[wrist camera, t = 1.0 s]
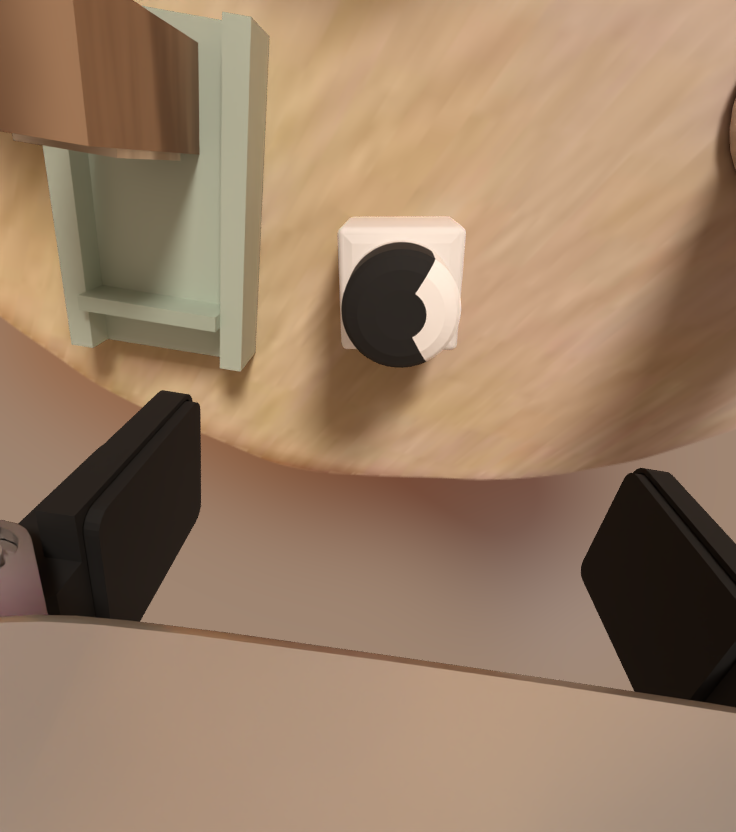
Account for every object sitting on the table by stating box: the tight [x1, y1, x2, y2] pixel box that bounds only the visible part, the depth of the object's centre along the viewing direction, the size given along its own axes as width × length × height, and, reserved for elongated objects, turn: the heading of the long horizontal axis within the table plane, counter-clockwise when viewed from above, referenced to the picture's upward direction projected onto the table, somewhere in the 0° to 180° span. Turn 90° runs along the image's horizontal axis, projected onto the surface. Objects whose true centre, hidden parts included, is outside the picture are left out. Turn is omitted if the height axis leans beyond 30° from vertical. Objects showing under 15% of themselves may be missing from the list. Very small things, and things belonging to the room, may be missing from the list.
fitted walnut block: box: [0, 0, 200, 161], centre depth 23 cm, size 5×6×12 cm
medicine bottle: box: [338, 216, 466, 367], centre depth 29 cm, size 7×7×12 cm
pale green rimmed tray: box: [43, 6, 269, 372], centre depth 30 cm, size 12×20×5 cm, turn 171°
